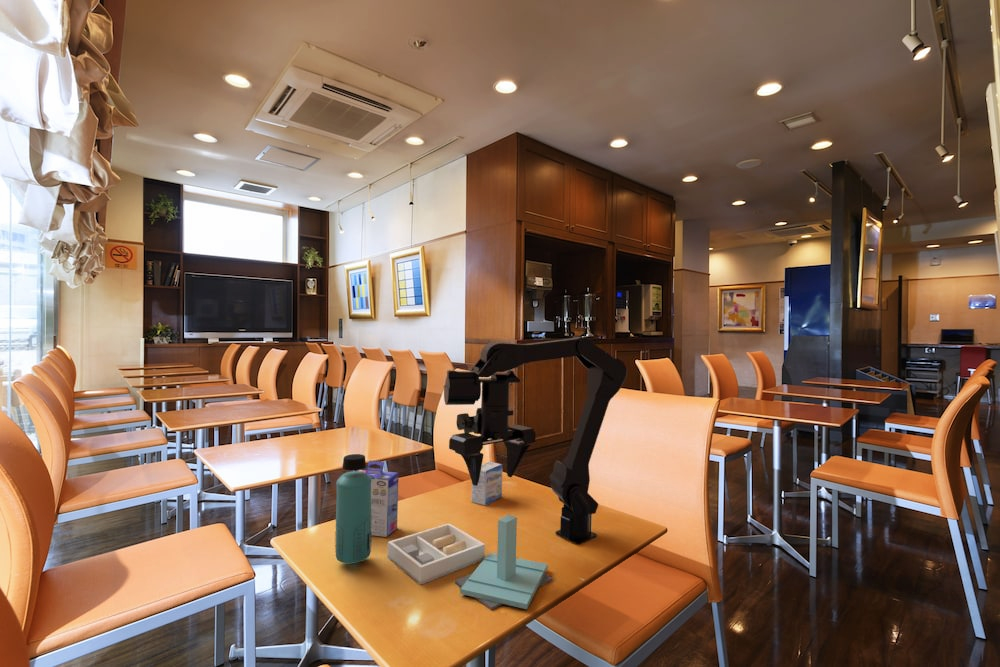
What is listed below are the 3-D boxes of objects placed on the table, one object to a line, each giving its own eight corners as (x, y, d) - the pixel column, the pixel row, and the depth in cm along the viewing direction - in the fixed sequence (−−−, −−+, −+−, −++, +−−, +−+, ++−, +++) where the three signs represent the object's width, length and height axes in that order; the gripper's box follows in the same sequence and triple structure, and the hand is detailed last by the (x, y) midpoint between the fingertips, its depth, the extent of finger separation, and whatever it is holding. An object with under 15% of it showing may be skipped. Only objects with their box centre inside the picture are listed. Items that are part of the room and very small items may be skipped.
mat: (514, 558, 89) (514, 556, 89) (552, 580, 82) (552, 577, 82) (454, 582, 80) (454, 580, 80) (491, 610, 73) (491, 607, 73)
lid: (489, 556, 89) (490, 500, 89) (547, 568, 85) (548, 509, 85) (460, 593, 76) (461, 528, 76) (526, 609, 73) (528, 540, 72)
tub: (448, 537, 98) (449, 523, 98) (484, 559, 88) (484, 544, 88) (387, 557, 88) (387, 541, 88) (420, 584, 79) (420, 567, 79)
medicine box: (485, 506, 115) (485, 471, 115) (470, 502, 118) (471, 468, 118) (502, 497, 122) (503, 464, 122) (488, 493, 124) (489, 461, 124)
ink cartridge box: (398, 527, 102) (400, 461, 102) (387, 538, 97) (389, 468, 96) (357, 522, 104) (358, 457, 104) (344, 533, 99) (345, 465, 98)
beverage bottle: (371, 569, 84) (374, 459, 84) (332, 574, 82) (335, 461, 82) (371, 552, 90) (373, 450, 90) (334, 556, 88) (336, 451, 88)
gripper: (503, 395, 107) (501, 463, 107) (434, 402, 94) (432, 479, 94) (538, 402, 98) (536, 476, 98) (467, 410, 86) (465, 494, 86)
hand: (492, 480), depth 95 cm, fingers open, 9 cm apart
